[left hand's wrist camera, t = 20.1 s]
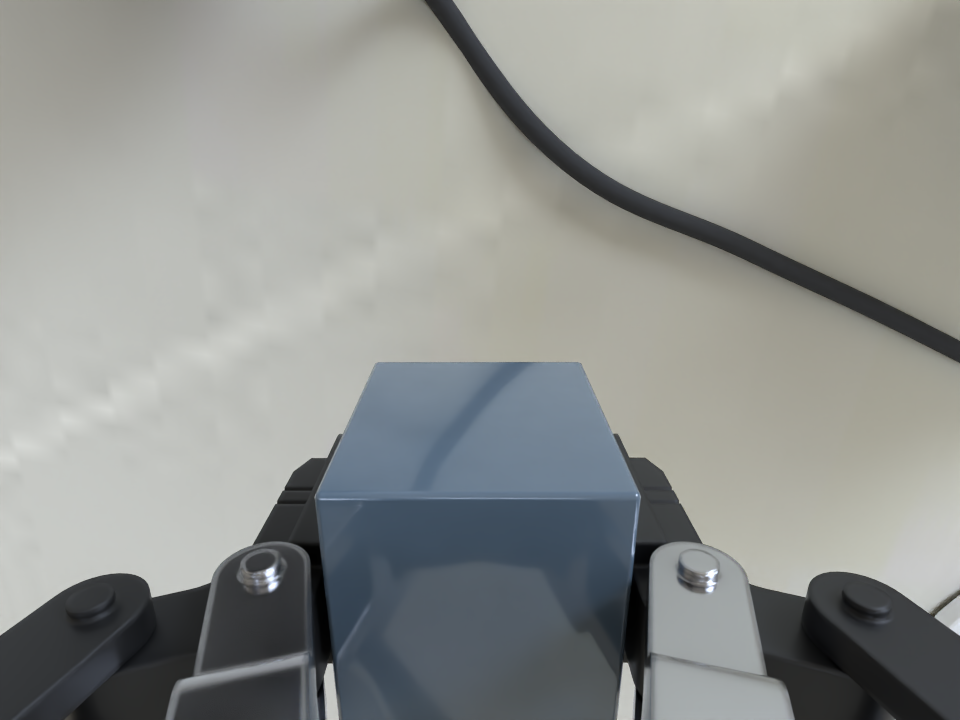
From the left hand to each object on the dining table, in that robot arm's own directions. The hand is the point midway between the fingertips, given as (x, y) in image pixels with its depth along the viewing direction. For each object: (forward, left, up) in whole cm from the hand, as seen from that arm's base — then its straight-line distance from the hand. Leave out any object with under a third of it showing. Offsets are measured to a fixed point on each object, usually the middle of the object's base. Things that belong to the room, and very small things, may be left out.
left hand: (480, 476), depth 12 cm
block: (0, 0, 0) cm, 0 cm away
